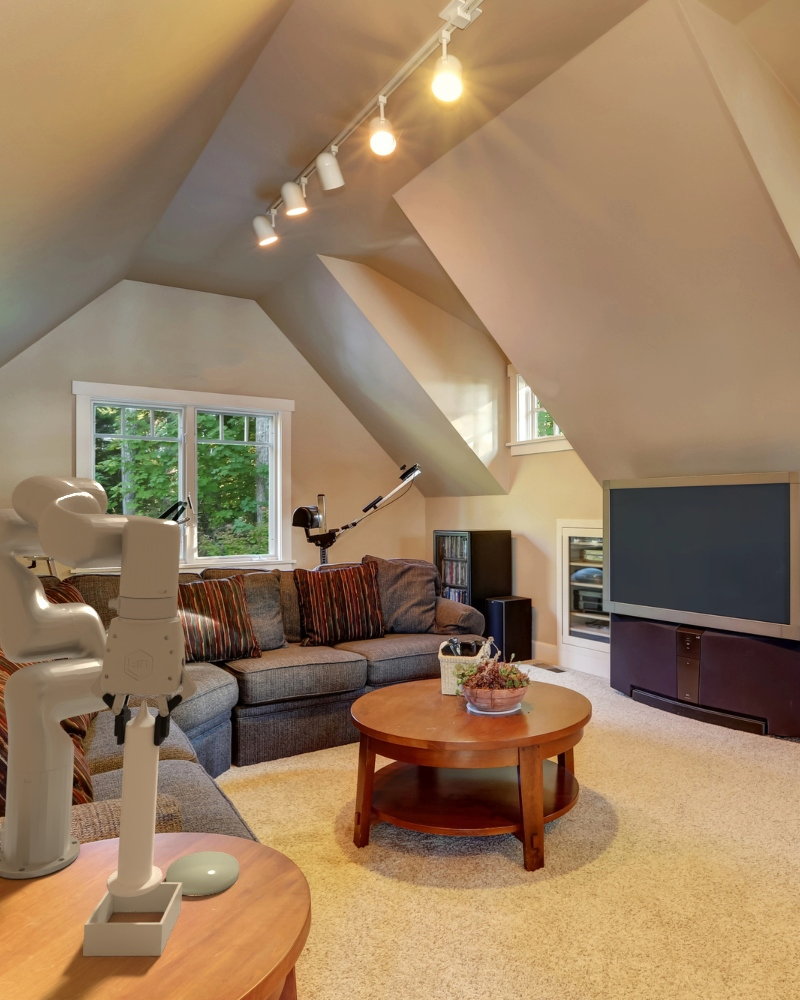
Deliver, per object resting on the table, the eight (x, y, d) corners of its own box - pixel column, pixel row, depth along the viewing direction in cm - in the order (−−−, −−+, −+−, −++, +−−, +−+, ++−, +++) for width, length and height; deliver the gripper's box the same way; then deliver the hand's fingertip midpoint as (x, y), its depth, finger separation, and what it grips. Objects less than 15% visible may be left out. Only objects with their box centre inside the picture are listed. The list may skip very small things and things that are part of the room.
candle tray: (82, 956, 85) (84, 924, 86) (111, 910, 95) (112, 882, 95) (160, 955, 86) (162, 924, 86) (181, 910, 96) (182, 882, 96)
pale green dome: (149, 885, 102) (150, 877, 102) (198, 852, 112) (198, 845, 112) (207, 904, 98) (208, 896, 98) (252, 868, 108) (253, 861, 108)
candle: (143, 901, 87) (153, 709, 87) (95, 892, 88) (105, 703, 89) (172, 873, 94) (181, 695, 94) (127, 865, 95) (136, 689, 96)
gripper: (73, 610, 87) (66, 750, 87) (204, 615, 88) (197, 753, 88) (96, 602, 95) (89, 731, 95) (216, 606, 96) (209, 734, 96)
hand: (141, 740), depth 91 cm, fingers closed on candle, 4 cm apart
